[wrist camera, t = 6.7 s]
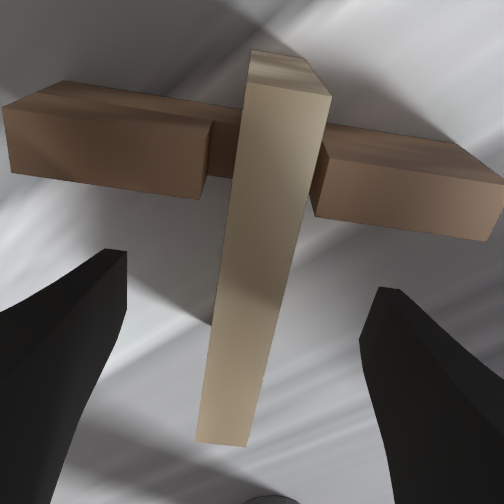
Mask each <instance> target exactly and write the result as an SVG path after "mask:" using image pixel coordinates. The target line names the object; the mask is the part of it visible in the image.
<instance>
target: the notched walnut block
mask: <svg viewBox="0 0 504 504" xmlns="http://www.w3.org/2000/svg"><path fill="white" fill-rule="evenodd" d="M242 111H243V110H242V109H236V108H230V107H223V106H217V105H211V104H205V103H199V102H192V101H186V100H180V99H174V98H167V97H161V96H155V95H149V94H143V93H136V92H130V91H124V90H118V89H111V88H105V87H99V86H93V85H86V84H80V83H74V82H68V81H61V82H59V83H56V84H54V85H52V86H49V87H47V88H45V89H43V90H40V91H38V92H36V93H34V94H31V95H29V96H27V97H24V98H22V99H20V100H18V101H15V102H13V103H11V104H8V105H6V106H4V107H2V112H3V119H4V126H5V133H6V139H7V146H8V153H9V160H10V167H11V173H16V174H23V175H30V176H37V177H44V178H51V179H57V180H64V181H71V182H78V183H85V184H92V185H99V186H106V187H112V188H119V189H126V190H133V191H140V192H147V193H154V194H161V195H168V196H174V197H181V198H188V199H195V200H200V197H201V194H202V190H203V187H204V183H205V180H206V177H207V175H210V176H217V177H223V178H230V179H233V174H234V167H235V160H236V153H237V146H238V139H239V132H240V125H241V118H242ZM309 196H310V200H311V203H312V207H313V211H314V215H315V217H319V218H326V219H333V220H340V221H347V222H354V223H360V224H367V225H374V226H381V227H388V228H395V229H402V230H409V231H415V232H422V233H429V234H436V235H443V236H450V237H457V238H464V239H471V240H477V241H484V242H486V241H487V239H488V237H489V236H490V234H491V232H492V230H493V228H494V226H495V224H496V222H497V220H498V218H499V216H500V214H501V212H502V210H503V208H504V179H503V178H502V177H500V176H499V175H498V174H496V173H495V172H494V171H492V170H491V169H490V168H488V167H487V166H486V165H484V164H483V163H482V162H480V161H479V160H478V159H477V158H475V157H474V156H473V155H471V154H470V153H469V152H467V151H466V150H465V149H463V148H462V147H461V146H459V145H458V144H454V143H448V142H441V141H435V140H429V139H423V138H417V137H410V136H404V135H398V134H392V133H385V132H379V131H373V130H367V129H360V128H354V127H348V126H342V125H336V124H329V123H326V125H325V129H324V133H323V137H322V141H321V145H320V149H319V153H318V157H317V161H316V165H315V169H314V174H313V178H312V182H311V186H310V190H309Z"/></svg>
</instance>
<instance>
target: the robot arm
mask: <svg viewBox="0 0 504 504" xmlns="http://www.w3.org/2000/svg"><path fill="white" fill-rule="evenodd" d="M126 311H127V251H121V250H113V249H106V248H105V249H103V250H102V251H100V252H99V253H97V254H96V255H94V256H93V257H91V258H90V259H88V260H87V261H85V262H84V263H82V264H81V265H80V266H78V267H77V268H75V269H74V270H72V271H71V272H69V273H68V274H66V275H64V276H63V277H61V278H60V279H58V280H57V281H55V282H54V283H52V284H50V285H49V286H47V287H45V288H44V289H42V290H40V291H38V292H37V293H35V294H33V295H32V296H30V297H28V298H27V299H25V300H23V301H21V302H19V303H18V304H16V305H14V306H12V307H10V308H8V309H6V310H4V311H2V312H0V504H50V502H51V499H52V496H53V493H54V490H55V487H56V484H57V481H58V478H59V475H60V472H61V469H62V466H63V463H64V460H65V458H66V455H67V452H68V449H69V446H70V444H71V441H72V438H73V435H74V433H75V430H76V427H77V424H78V422H79V419H80V417H81V415H82V412H83V410H84V408H85V406H86V403H87V401H88V399H89V397H90V395H91V393H92V391H93V389H94V387H95V385H96V383H97V381H98V379H99V377H100V374H101V372H102V370H103V368H104V366H105V364H106V362H107V360H108V358H109V356H110V354H111V352H112V349H113V347H114V345H115V343H116V341H117V338H118V335H119V332H120V329H121V326H122V323H123V320H124V317H125V314H126ZM359 344H360V353H361V360H362V367H363V372H364V376H365V380H366V383H367V387H368V390H369V394H370V398H371V401H372V404H373V408H374V411H375V415H376V418H377V422H378V425H379V429H380V432H381V436H382V439H383V443H384V447H385V451H386V455H387V460H388V466H389V471H390V477H391V483H392V488H393V494H394V501H395V504H504V380H503V379H502V378H501V377H499V376H498V375H497V374H495V373H494V372H493V371H491V370H490V369H489V368H488V367H486V366H485V365H484V364H483V363H481V362H480V361H479V360H478V359H477V358H475V357H474V356H473V355H472V354H471V353H469V352H468V351H467V350H466V349H465V348H463V347H462V346H461V345H460V344H459V343H458V342H457V341H456V340H454V339H453V338H452V337H451V336H450V335H449V334H448V333H447V332H446V331H445V330H443V329H442V328H441V327H440V326H439V325H438V324H437V323H436V322H435V321H434V320H433V319H432V318H431V317H430V316H429V315H427V314H426V313H425V312H424V311H423V310H422V309H421V308H420V307H419V306H418V305H417V304H416V303H415V302H414V301H413V300H411V299H410V298H409V297H408V296H407V295H406V294H405V293H403V292H402V291H401V290H400V289H393V288H386V287H379V288H378V290H377V293H376V296H375V298H374V301H373V304H372V306H371V309H370V311H369V314H368V317H367V319H366V322H365V325H364V327H363V330H362V333H361V335H360V338H359Z"/></svg>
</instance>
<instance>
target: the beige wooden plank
mask: <svg viewBox="0 0 504 504" xmlns="http://www.w3.org/2000/svg"><path fill="white" fill-rule="evenodd" d="M331 100H332V95H331V94H330V93H329V91H328V90H327V88H326V87H325V86H324V84H323V83H322V81H321V80H320V79H319V77H318V76H317V75H316V73H315V72H314V70H313V69H312V68H311V66H310V65H309V63H308V62H307V61H306V59H302V58H296V57H291V56H285V55H279V54H274V53H268V52H262V51H257V50H251V55H250V62H249V69H248V76H247V83H246V90H245V97H244V105H243V111H242V118H241V125H240V132H239V139H238V146H237V153H236V160H235V167H234V174H233V181H232V188H231V195H230V202H229V208H228V215H227V222H226V229H225V236H224V243H223V250H222V257H221V264H220V271H219V278H218V285H217V292H216V299H215V306H214V313H213V320H212V327H211V334H210V341H209V348H208V355H207V362H206V369H205V376H204V383H203V390H202V397H201V404H200V411H199V418H198V425H197V432H196V439H195V442H202V443H211V444H220V445H229V446H238V447H246V445H247V441H248V437H249V433H250V429H251V425H252V421H253V417H254V413H255V409H256V405H257V401H258V397H259V393H260V389H261V384H262V380H263V376H264V372H265V368H266V364H267V360H268V356H269V352H270V348H271V344H272V340H273V336H274V332H275V328H276V324H277V320H278V316H279V311H280V307H281V303H282V299H283V295H284V291H285V287H286V283H287V279H288V275H289V271H290V267H291V263H292V259H293V255H294V251H295V247H296V242H297V238H298V234H299V230H300V226H301V222H302V218H303V214H304V210H305V206H306V202H307V198H308V194H309V190H310V186H311V182H312V178H313V174H314V169H315V165H316V161H317V157H318V153H319V149H320V145H321V141H322V137H323V133H324V129H325V125H326V121H327V117H328V113H329V109H330V105H331Z"/></svg>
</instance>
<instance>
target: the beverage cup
mask: <svg viewBox="0 0 504 504" xmlns="http://www.w3.org/2000/svg"><path fill="white" fill-rule="evenodd" d="M245 504H299V503H298V502H296V501H294V500H292V499H289V498H286V497H280V496H263V497H259V498H254V499H252V500H250V501H248V502H246V503H245Z"/></svg>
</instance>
